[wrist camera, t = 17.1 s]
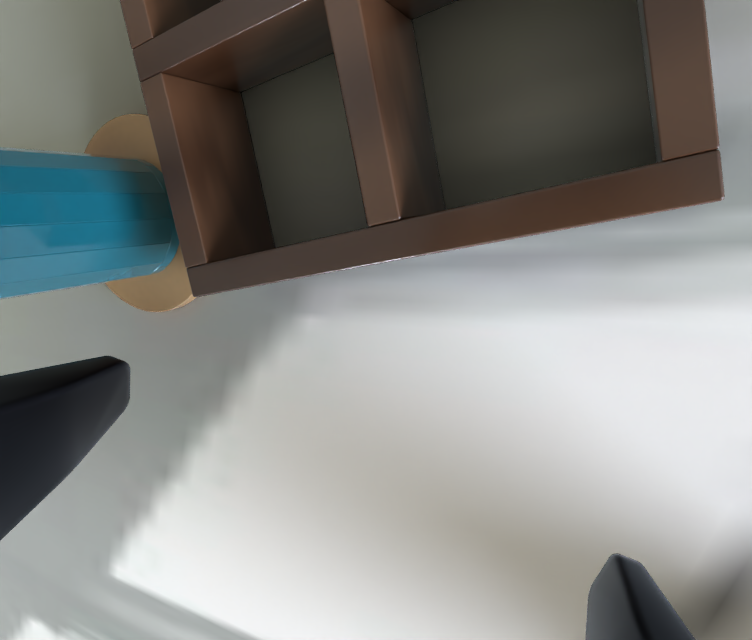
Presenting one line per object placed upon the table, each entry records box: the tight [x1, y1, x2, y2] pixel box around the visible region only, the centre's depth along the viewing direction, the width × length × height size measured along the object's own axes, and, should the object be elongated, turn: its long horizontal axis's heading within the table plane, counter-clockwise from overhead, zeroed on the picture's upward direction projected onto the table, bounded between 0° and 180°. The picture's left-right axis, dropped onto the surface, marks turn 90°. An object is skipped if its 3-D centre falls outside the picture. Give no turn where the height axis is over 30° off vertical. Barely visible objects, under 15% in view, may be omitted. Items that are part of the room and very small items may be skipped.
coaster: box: [84, 114, 196, 312], centre depth 24 cm, size 9×9×1 cm
